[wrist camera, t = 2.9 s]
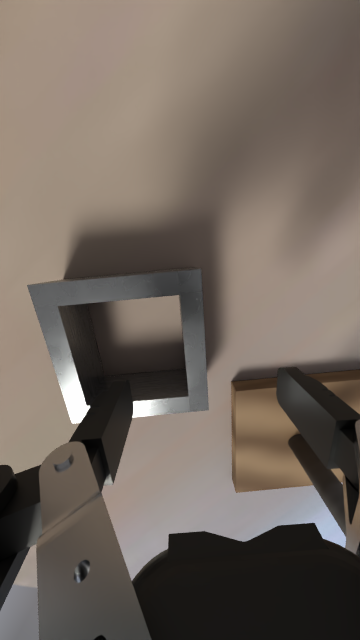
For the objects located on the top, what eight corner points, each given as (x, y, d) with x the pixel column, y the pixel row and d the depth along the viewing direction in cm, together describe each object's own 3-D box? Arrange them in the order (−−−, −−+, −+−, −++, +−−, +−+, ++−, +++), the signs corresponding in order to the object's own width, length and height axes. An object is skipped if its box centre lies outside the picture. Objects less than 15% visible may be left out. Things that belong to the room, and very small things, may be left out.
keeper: (231, 381, 19) (309, 543, 8) (377, 367, 19) (650, 509, 8) (232, 478, 23) (284, 672, 12) (352, 466, 23) (512, 649, 12)
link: (62, 279, 16) (27, 285, 12) (194, 267, 16) (201, 269, 12) (92, 390, 19) (72, 423, 15) (201, 380, 19) (208, 410, 15)
